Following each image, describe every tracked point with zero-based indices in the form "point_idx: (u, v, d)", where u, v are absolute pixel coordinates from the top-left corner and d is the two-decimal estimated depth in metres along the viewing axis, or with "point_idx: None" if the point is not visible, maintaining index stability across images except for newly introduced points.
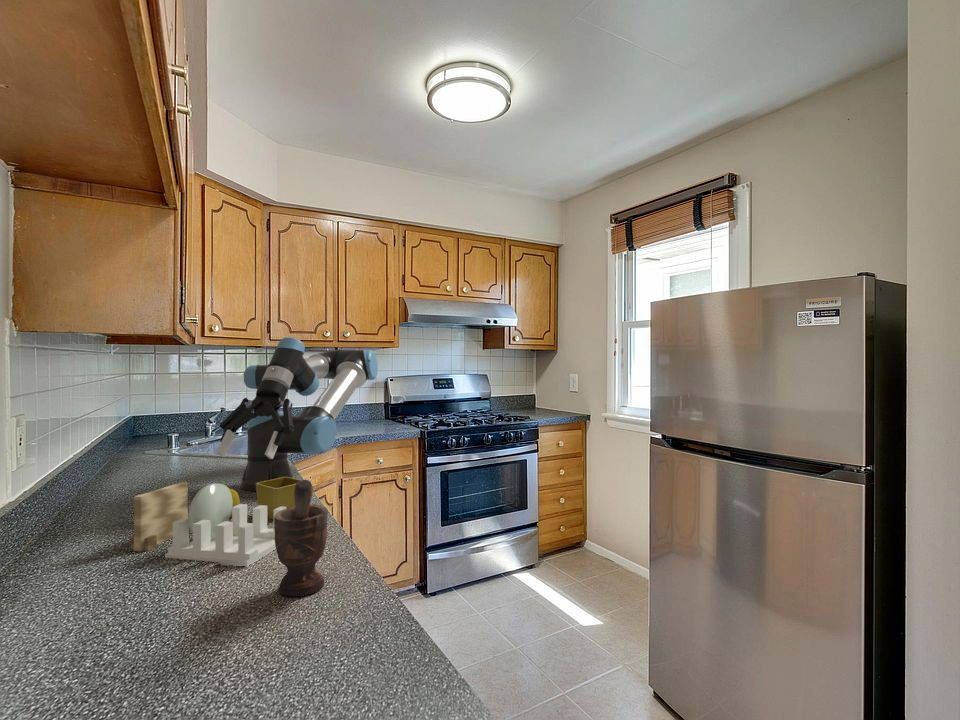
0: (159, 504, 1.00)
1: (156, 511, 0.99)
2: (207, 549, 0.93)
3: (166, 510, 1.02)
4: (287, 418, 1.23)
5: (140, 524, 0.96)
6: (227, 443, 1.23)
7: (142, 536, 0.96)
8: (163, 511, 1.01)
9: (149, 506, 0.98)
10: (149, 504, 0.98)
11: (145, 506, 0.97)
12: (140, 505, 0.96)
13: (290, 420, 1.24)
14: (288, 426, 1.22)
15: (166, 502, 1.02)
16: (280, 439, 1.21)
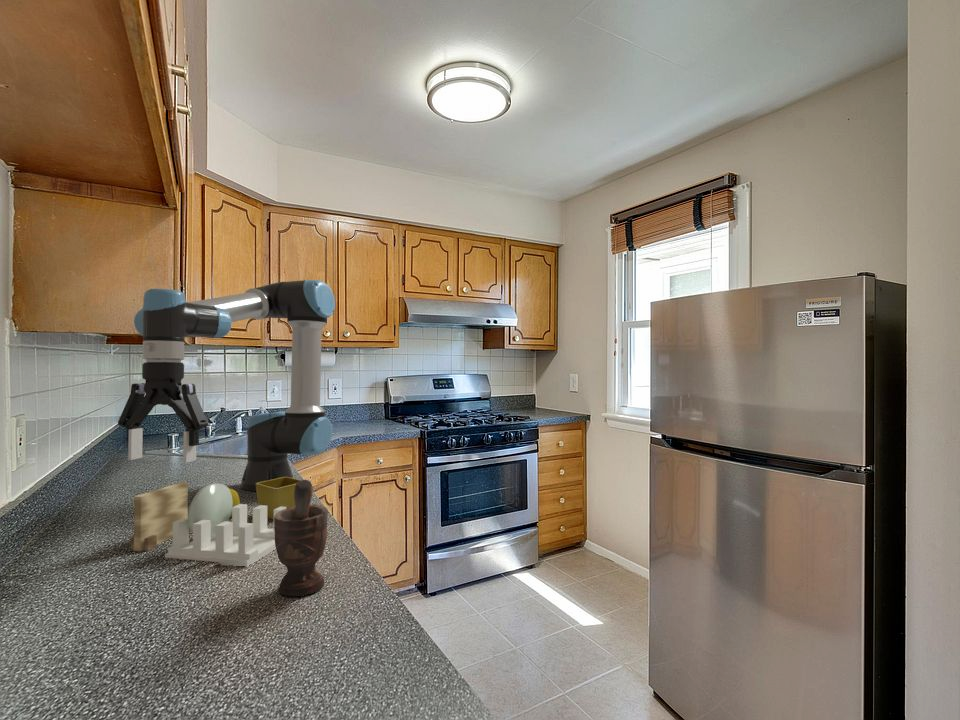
0: (159, 504, 1.00)
1: (156, 511, 0.99)
2: (207, 549, 0.93)
3: (166, 510, 1.02)
4: (193, 413, 0.99)
5: (140, 524, 0.96)
6: (136, 444, 1.03)
7: (142, 536, 0.96)
8: (163, 511, 1.01)
9: (149, 506, 0.98)
10: (149, 504, 0.98)
11: (145, 506, 0.97)
12: (140, 505, 0.96)
13: (198, 412, 1.00)
14: (198, 424, 0.99)
15: (166, 502, 1.02)
16: (195, 439, 1.00)
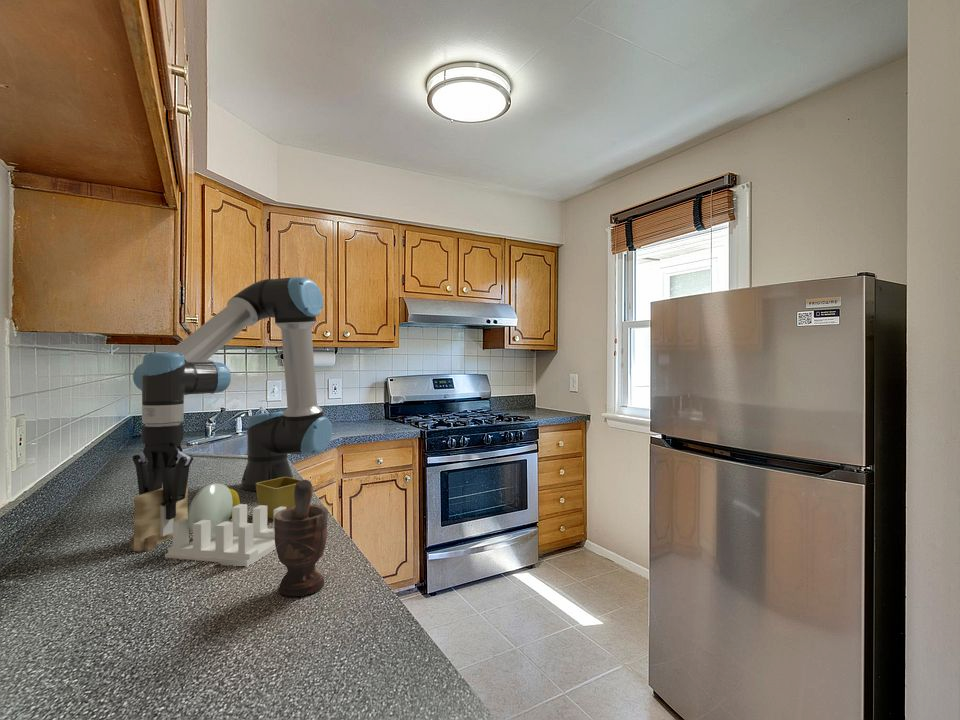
0: (159, 504, 1.00)
1: (156, 511, 0.99)
2: (207, 549, 0.93)
3: None
4: (176, 488, 1.00)
5: (140, 524, 0.96)
6: None
7: (142, 536, 0.96)
8: None
9: (149, 506, 0.98)
10: (149, 504, 0.98)
11: (145, 506, 0.97)
12: (140, 505, 0.96)
13: (181, 487, 1.01)
14: (174, 500, 1.00)
15: None
16: (172, 512, 1.01)
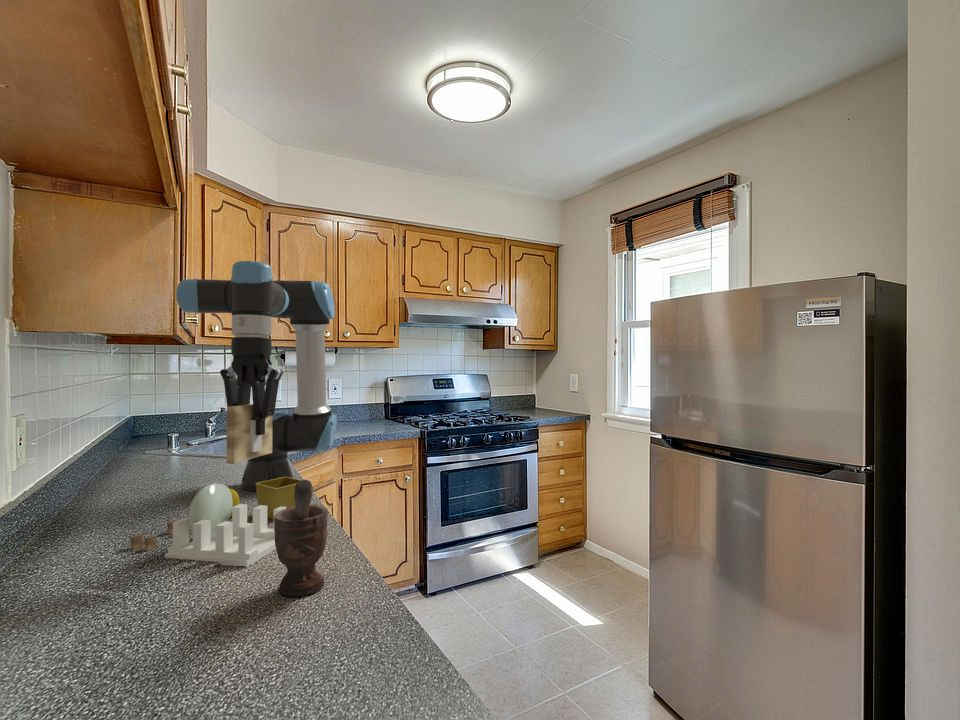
0: (249, 419, 0.96)
1: (246, 425, 0.95)
2: (207, 549, 0.93)
3: None
4: (267, 401, 0.96)
5: (233, 435, 0.92)
6: None
7: (235, 448, 0.92)
8: None
9: (240, 418, 0.94)
10: (241, 416, 0.94)
11: (237, 418, 0.93)
12: (233, 416, 0.92)
13: (272, 401, 0.97)
14: (265, 414, 0.96)
15: None
16: (262, 428, 0.97)
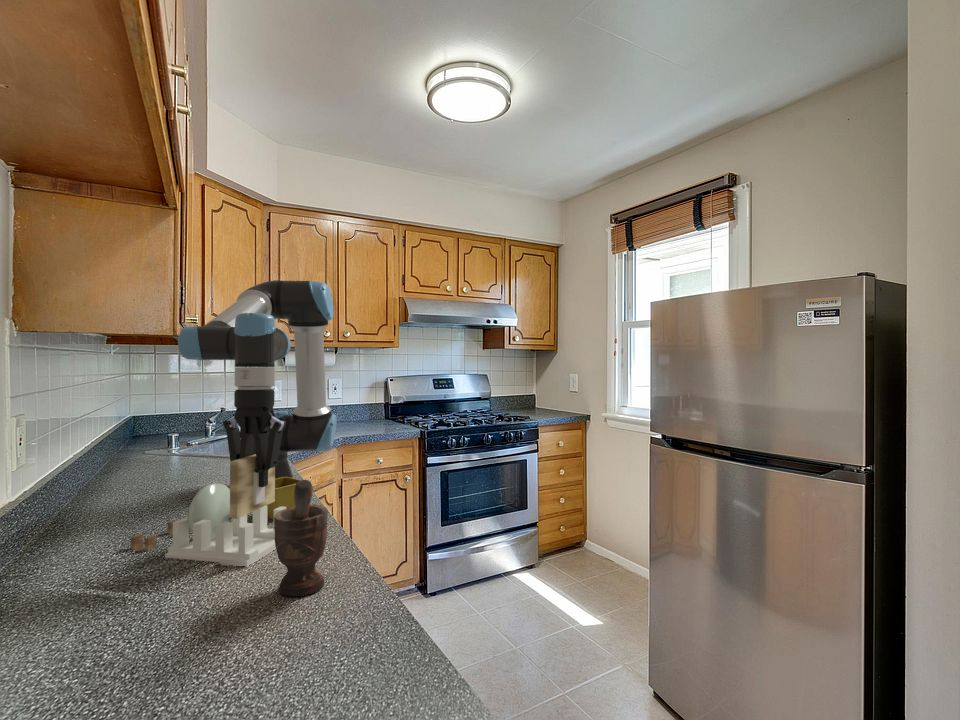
0: (252, 471, 0.96)
1: (250, 478, 0.95)
2: (207, 549, 0.93)
3: None
4: (270, 454, 0.96)
5: (236, 490, 0.92)
6: None
7: (238, 503, 0.92)
8: None
9: (244, 472, 0.94)
10: (244, 470, 0.94)
11: (241, 472, 0.93)
12: (236, 470, 0.92)
13: (275, 453, 0.97)
14: (269, 466, 0.96)
15: None
16: (265, 480, 0.97)
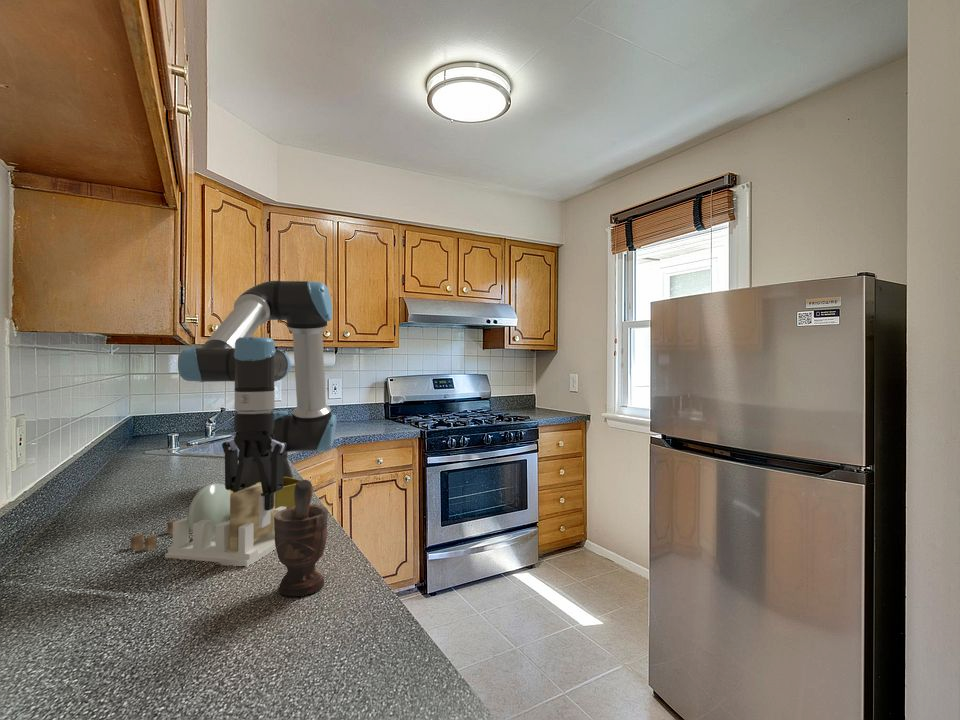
0: (252, 502, 0.96)
1: (249, 509, 0.95)
2: (207, 549, 0.93)
3: (258, 508, 0.98)
4: (275, 477, 0.96)
5: (236, 523, 0.92)
6: None
7: (238, 535, 0.92)
8: (255, 509, 0.97)
9: (244, 504, 0.94)
10: (244, 502, 0.94)
11: (241, 505, 0.93)
12: (236, 503, 0.92)
13: (279, 476, 0.97)
14: (274, 489, 0.96)
15: (258, 500, 0.98)
16: (270, 503, 0.97)
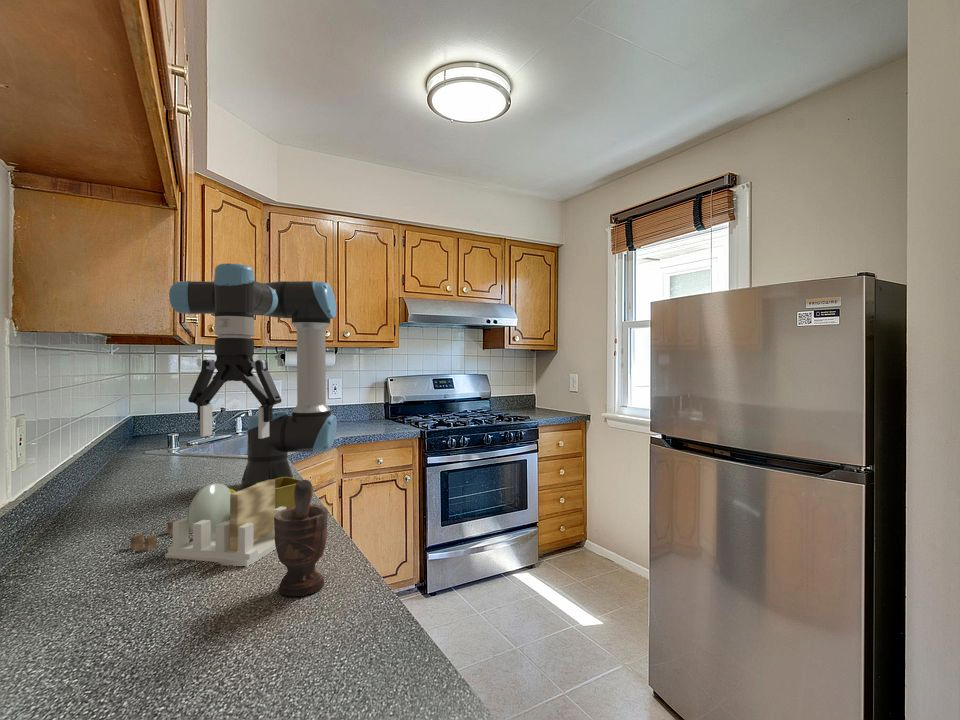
0: (252, 502, 0.96)
1: (249, 509, 0.95)
2: (207, 549, 0.93)
3: (258, 508, 0.98)
4: (268, 389, 0.99)
5: (236, 523, 0.92)
6: (207, 421, 1.02)
7: (238, 535, 0.92)
8: (255, 509, 0.97)
9: (244, 504, 0.94)
10: (244, 502, 0.94)
11: (241, 505, 0.93)
12: (236, 503, 0.92)
13: (272, 388, 1.00)
14: (273, 400, 0.99)
15: (258, 500, 0.98)
16: (269, 415, 1.00)
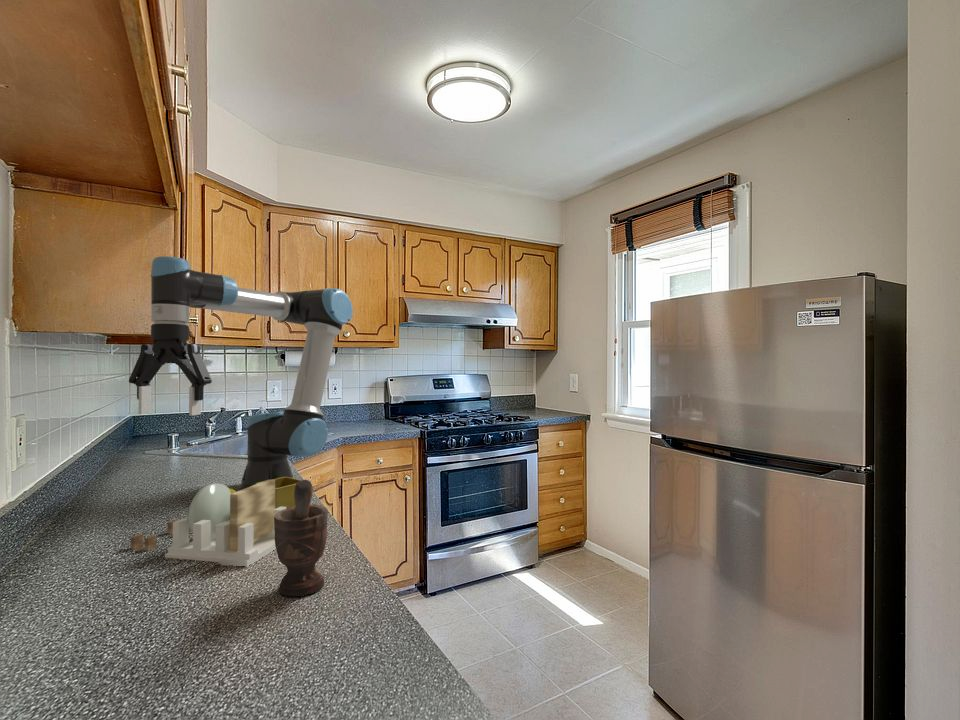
0: (252, 502, 0.96)
1: (249, 509, 0.95)
2: (207, 549, 0.93)
3: (258, 508, 0.98)
4: (198, 370, 1.08)
5: (236, 523, 0.92)
6: (145, 400, 1.12)
7: (238, 535, 0.92)
8: (255, 509, 0.97)
9: (244, 504, 0.94)
10: (244, 502, 0.94)
11: (241, 505, 0.93)
12: (236, 503, 0.92)
13: (203, 370, 1.09)
14: (202, 380, 1.08)
15: (258, 500, 0.98)
16: (200, 394, 1.09)
